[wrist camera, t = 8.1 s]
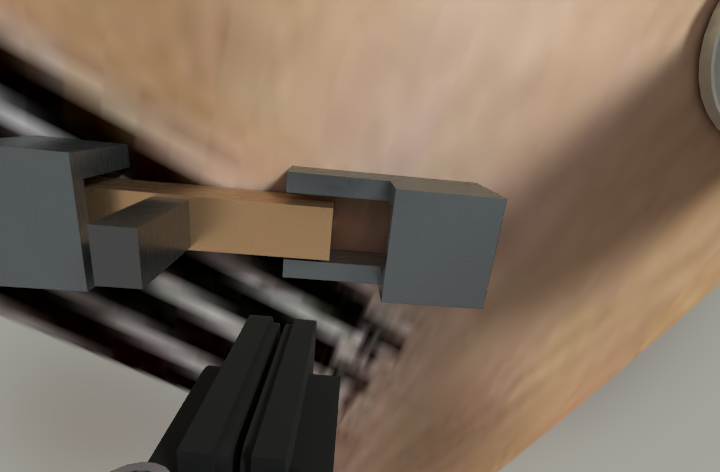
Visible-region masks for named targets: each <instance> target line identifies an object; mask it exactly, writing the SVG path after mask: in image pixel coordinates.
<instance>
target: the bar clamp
mask: <svg viewBox="0 0 720 472" xmlns="http://www.w3.org/2000/svg"><path fill="white" fill-rule="evenodd" d="M129 167H130V164H129V153H128V144H120V143H110V142H99V141H88V140H78V139H67V138H56V137H46V136H24V137H10V138H0V286H8V287H23V288H38V289H53V290H68V291H83V292H88V291H89V290H91V289H92V288H94V287H95V284H94V276H93V268H92V261H91V253H90V245H89V237H88V229H87V224H89V221H88V213H87V205H86V197H85V189H84V181H83V179H84V178H88V177H92V176H96V175H100V174H104V173H108V172H113V171H117V170H121V169H125V168H129ZM286 192H289V193H300V194H312V195H323V196H335V197H346V198H357V199H369V200H380V201H388V202H389V204H390V206H391V214H390V221H389V229H388V237H387V245H386V253H385V254H382V253H369V252H356V251H344V250H331V249H330V256H329V261H327V260H314V259H301V258H288V257H284V259H283V277H288V278H302V279H316V280H330V281H344V282H357V283H371V284H378V288H379V293H380V298H381V302H390V303H404V304H419V305H433V306H448V307H463V308H477V309H483V305H484V300H485V296H486V291H487V287H488V282H489V278H490V273H491V269H492V264H493V260H494V255H495V251H496V246H497V242H498V237H499V233H500V228H501V224H502V219H503V215H504V210H505V206H506V201H507V199H506V198H504V197H502V196H500V195H498V194H497V193H495V192H493V191H491V190H489V189H487V188H485V187H483V186H481V185H479V184H477V183H470V182H459V181H448V180H437V179H426V178H416V177H405V176H394V175H383V174H373V173H362V172H351V171H340V170H329V169H319V168H308V167H297V166H292V167H291V168H290V169H289V170H288V171H287V179H286Z"/></svg>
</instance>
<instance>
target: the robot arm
mask: <svg viewBox="0 0 720 472" xmlns="http://www.w3.org/2000/svg"><path fill="white" fill-rule="evenodd" d="M698 79H699V86H700V93H701V99H702V101H703V104H704V107H705V109H706V112H707V115H708V116H709V117H710V119H711V120H712V122H713V123H714V125H715V126H716V128H717V129H718V130H719V131H720V1H719V3H718V4H717V6H716V8H715V10H714V12H713V14H712V16H711V19H710V22H709V24H708V27H707V29H706V32H705V35H704V39H703V43H702V48H701V53H700V57H699V78H698ZM315 339H316V321H313V320H302V319H295V320H294V323H293V324H286V325H285V327H284V330H283V333H282V336H281V339H280V323H273V318H272V317H268V316H257V315H250V316H249V317H248V319H247V321H246V323H245V325H244V326H243V328H242V330H241V332H240V334H239V336H238V338H237V339H236V341H235V343H234V345H233V347H232V349H231V351H230V352H229V354H228V356H227V358H226V360H225V362H224V364H223V365H222V367H221V366H210V365H209V366H207V367H205V369H204V370H203V371H202V373H201V375H200V376H199V378H198V380H197V381H196V383H195V385H194V386H193V388H192V390H191V391H190V393H189V395H188V396H187V398H186V400H185V401H184V403H183V404H182V406H181V408H180V409H179V411H178V413H177V414H176V416H175V418H174V419H173V421H172V423H171V424H170V426H169V428H168V429H167V431H166V433H165V434H164V436H163V438H162V439H161V441H160V443H159V444H158V446H157V448H156V449H155V451H154V453H153V454H152V456H151V458H150V459H149V461H148V462H139V463H134V464H128V465H125V466H123V467H120V468H118V469H116V470H113V471H111V472H333V464H334V452H335V439H336V426H337V414H338V401H339V389H340V376H328V375H316V374H313V367H314V353H315Z"/></svg>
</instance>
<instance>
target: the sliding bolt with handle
mask: <svg viewBox="0 0 720 472" xmlns="http://www.w3.org/2000/svg"><path fill="white" fill-rule="evenodd" d="M83 181H84V189H85V197H86V205H87V213H88V221H89V224H87V229H88V237H89V245H90V253H91V261H92V268H93V276H94V284H95V286H103V287H118V288H133V289H143V288H144V287H145V286H147V285H148V284H149V283H150V282H151V281H152V280H153V279H155V278H156V277H157V276H158V275H159V274H160V273H161V272H163V271H164V270H165V269H166V268H167V267H168V266H170V265H171V264H172V263H173V262H174V261H175V260H176V259H178V258H179V257H180V256H181V255H182V254H183V253H184V252H186V251H187V250H195V251H209V252H222V253H235V254H248V255H261V256H275V257H288V258H301V259H314V260H327V261H329V256H330V246H331V234H332V222H333V209H334V197H326V196H314V195H303V194H292V193H280V192H269V191H257V190H246V189H235V188H223V187H212V186H200V185H189V184H178V183H166V182H155V181H143V180H132V179H121V178H109V177H98V176H92V177H88V178H84V179H83Z"/></svg>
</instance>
